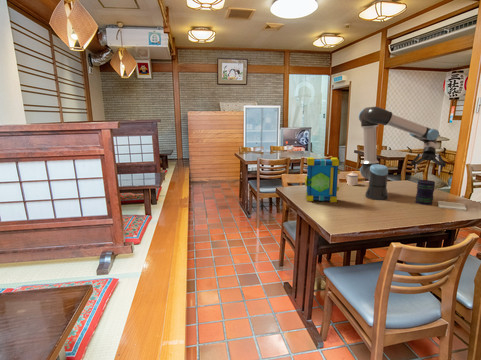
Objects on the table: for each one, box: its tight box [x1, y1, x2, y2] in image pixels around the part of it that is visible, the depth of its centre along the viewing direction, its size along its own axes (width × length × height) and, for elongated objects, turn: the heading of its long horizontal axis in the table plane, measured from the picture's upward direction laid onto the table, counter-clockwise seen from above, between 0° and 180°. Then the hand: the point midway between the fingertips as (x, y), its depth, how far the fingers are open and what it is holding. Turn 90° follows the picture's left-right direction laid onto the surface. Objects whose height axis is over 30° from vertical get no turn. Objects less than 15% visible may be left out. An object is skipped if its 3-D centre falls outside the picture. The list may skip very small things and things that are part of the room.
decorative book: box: [304, 156, 341, 203], centre depth 195 cm, size 14×23×30 cm, turn 78°
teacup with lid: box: [345, 171, 359, 186], centre depth 245 cm, size 12×9×12 cm
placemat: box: [437, 200, 467, 212], centre depth 180 cm, size 14×14×1 cm
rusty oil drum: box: [414, 179, 436, 206], centre depth 187 cm, size 10×10×15 cm
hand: (427, 173), depth 193 cm, fingers open, 13 cm apart
